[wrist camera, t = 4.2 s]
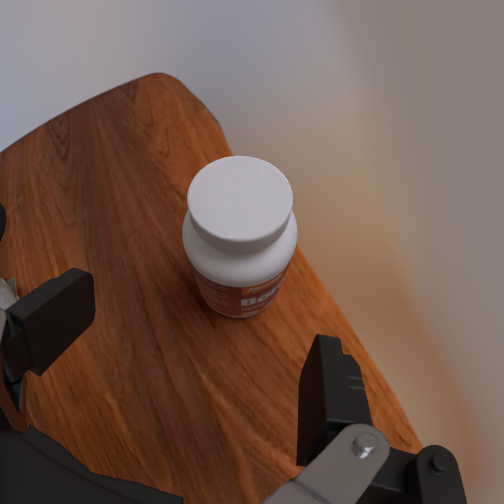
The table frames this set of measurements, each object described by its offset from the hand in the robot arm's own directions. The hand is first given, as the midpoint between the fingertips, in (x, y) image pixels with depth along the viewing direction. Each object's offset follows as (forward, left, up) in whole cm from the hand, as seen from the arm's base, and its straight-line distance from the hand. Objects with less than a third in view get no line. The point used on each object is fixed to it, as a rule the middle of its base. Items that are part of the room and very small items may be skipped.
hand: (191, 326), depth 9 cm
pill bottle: (-5, -3, -12) cm, 13 cm away
